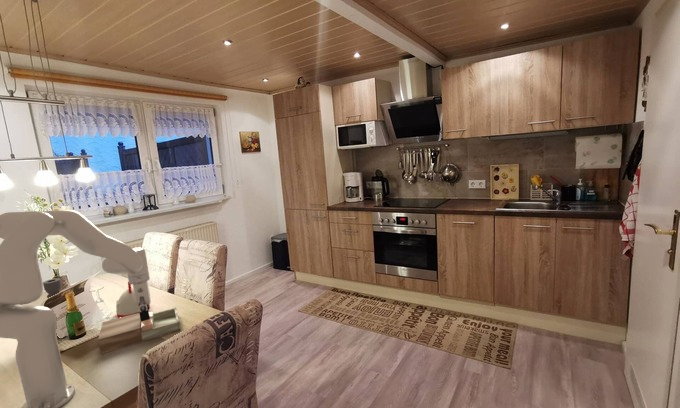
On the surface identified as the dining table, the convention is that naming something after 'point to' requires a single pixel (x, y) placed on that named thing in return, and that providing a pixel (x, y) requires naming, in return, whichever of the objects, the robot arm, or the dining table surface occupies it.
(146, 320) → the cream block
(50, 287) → the candle holder
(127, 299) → the white dome with stick
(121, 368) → the dining table surface
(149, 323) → the salmon pink block
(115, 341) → the stepped long block
